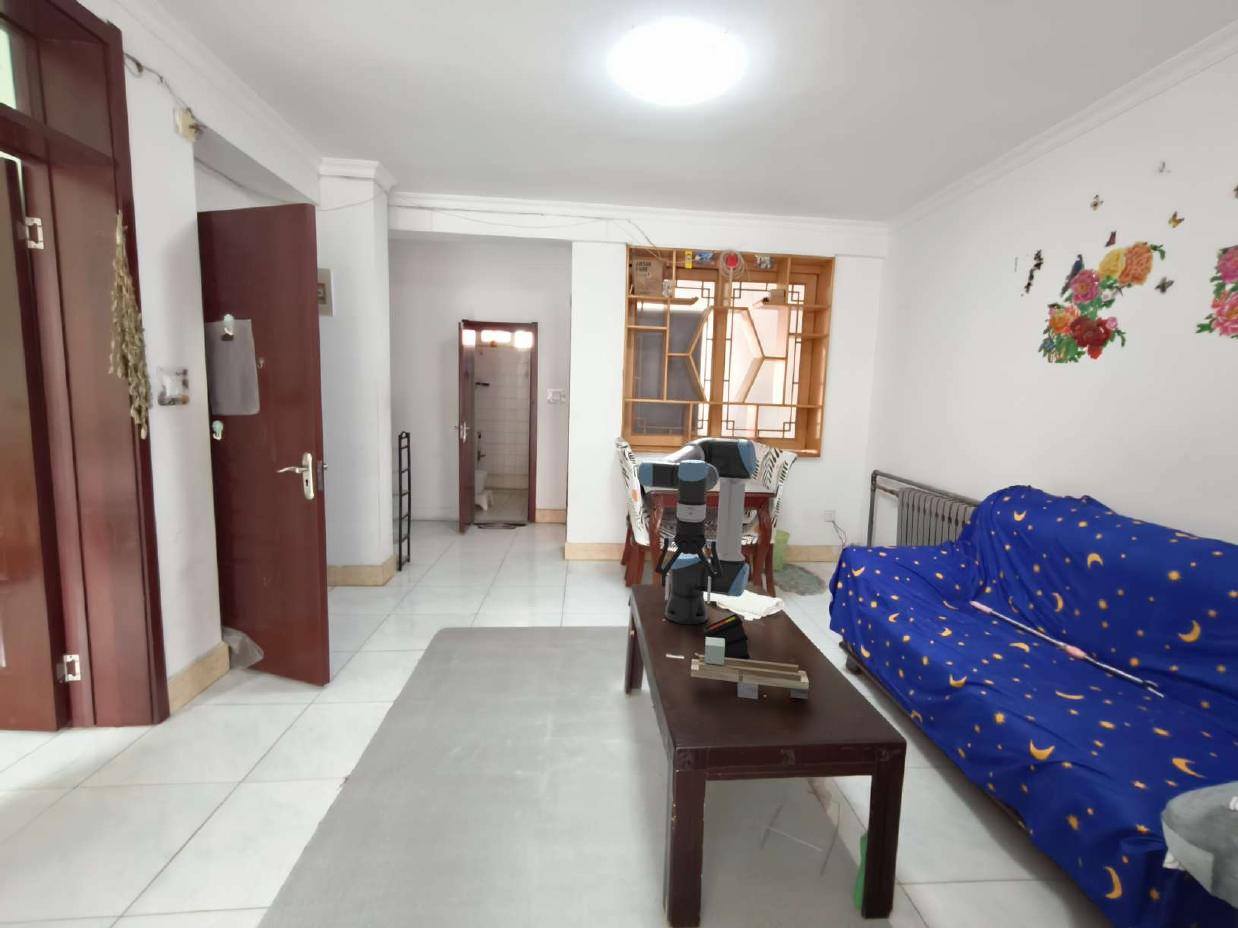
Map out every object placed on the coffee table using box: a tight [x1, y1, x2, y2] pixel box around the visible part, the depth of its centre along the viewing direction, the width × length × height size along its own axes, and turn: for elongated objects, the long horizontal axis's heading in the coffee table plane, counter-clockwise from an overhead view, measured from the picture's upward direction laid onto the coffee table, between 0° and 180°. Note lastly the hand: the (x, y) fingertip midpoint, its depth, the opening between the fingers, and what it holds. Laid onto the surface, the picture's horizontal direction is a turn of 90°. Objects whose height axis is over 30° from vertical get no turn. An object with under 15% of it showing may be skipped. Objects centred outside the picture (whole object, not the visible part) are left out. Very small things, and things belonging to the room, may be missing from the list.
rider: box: [704, 636, 725, 665], centre depth 145 cm, size 5×5×7 cm
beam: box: [690, 654, 810, 700], centre depth 144 cm, size 6×30×8 cm, turn 80°
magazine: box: [702, 613, 751, 660], centre depth 159 cm, size 4×13×15 cm, turn 92°
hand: (687, 600), depth 145 cm, fingers open, 10 cm apart
